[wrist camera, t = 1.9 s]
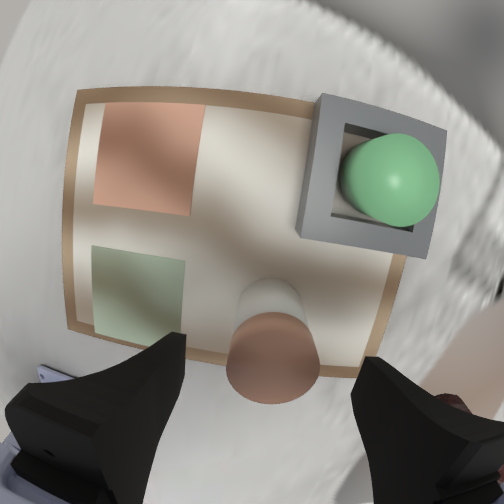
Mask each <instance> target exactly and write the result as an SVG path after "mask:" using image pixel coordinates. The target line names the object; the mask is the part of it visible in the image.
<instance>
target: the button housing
mask: <svg viewBox="0 0 504 504" xmlns="http://www.w3.org/2000/svg"><path fill="white" fill-rule="evenodd" d="M344 132H346V133H350V134H354V135H358V136H362V137H366V138H370V139H375V138H378V137H381V136H385V135H388V134H395V133H400V134H406V135H409V136H412V137H414V138H416V139H417V140H419V141H420V142H421V143H423V144H424V145H425V146H426V147H427V149H428V150H429V151H430V152H431V154H432V156H433V157H434V160H435V162H436V164H437V167H438V172H439V179H440V185H439V193H438V197H437V200H436V202H435V205H434V207H433V208H432V210H431V211H430V212H429V214H428V215H427V216H426V217H425V218H424V219H422V220H421V221H420V222H418V223H416V224H413V225H410V226H405V227H397V226H392V225H389V224H386V223H382V222H377V221H372V220H367V219H362V218H357V217H352V216H347V215H341V214H336V213H331V211H332V205H333V200H334V194H335V188H336V182H337V175H338V169H339V162H340V155H341V148H342V141H343V134H344ZM446 138H447V131H446V130H444V129H441V128H439V127H436V126H433V125H431V124H428V123H425V122H423V121H420V120H417V119H414V118H411V117H408V116H405V115H402V114H399V113H396V112H393V111H390V110H386V109H383V108H380V107H376V106H373V105H369V104H366V103H362V102H358V101H354V100H350V99H346V98H342V97H338V96H334V95H329V94H325V93H322V94H321V96H320V97H319V98H318V100H317V101H316V102H315V104H314V108H313V115H312V124H311V132H310V139H309V145H308V152H307V159H306V165H305V172H304V178H303V185H302V191H301V197H300V203H299V209H298V215H297V221H296V227H295V230H296V232H297V233H298V235H299V237H300V238H303V239H310V240H316V241H322V242H328V243H334V244H340V245H346V246H352V247H358V248H364V249H370V250H376V251H382V252H388V253H393V254H399V255H405V256H411V257H416V258H422V259H426V257H427V253H428V249H429V245H430V241H431V236H432V232H433V227H434V222H435V217H436V212H437V206H438V200H439V194H440V188H441V181H442V174H443V167H444V158H445V149H446Z"/></svg>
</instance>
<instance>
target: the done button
mask: <svg viewBox="0 0 504 504" xmlns="http://www.w3.org/2000/svg"><path fill="white" fill-rule="evenodd" d="M340 184H341V188H342V191H343V194H344V196H345V198H346V200H347V201H348V202H349V204H350V205H351V206H352V207H353V208H354V209H356V210H357V211H358V212H360V213H362V214H364V215H367V216H369V217H372V218H374V219H376V220H379V221H381V222H384V223H386V224H389V225H392V226H397V227H405V226H410V225H413V224H416V223H418V222H420V221H421V220H422V219H424V218H425V217H426V216H427V215H428V214H429V212H430V211H431V210H432V208H433V207H434V205H435V202H436V200H437V197H438V193H439V185H440V179H439V172H438V167H437V164H436V162H435V160H434V157H433V156H432V154H431V152H430V151H429V150H428V149H427V147H426V146H425V145H424V144H423V143H421V142H420V141H419V140H417V139H416V138H414V137H412V136H409V135H406V134H400V133H395V134H388V135H385V136H381V137H378V138H375V139H371V140H368V141H365V142H362V143H360V144H358V145H356V146H355V147H353V148H352V149H351V150H350V151H349V152H348V153H347V155H346V156H345V158H344V160H343V163H342V165H341V170H340Z"/></svg>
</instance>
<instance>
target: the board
mask: <svg viewBox="0 0 504 504" xmlns="http://www.w3.org/2000/svg"><path fill="white" fill-rule="evenodd" d="M314 104H315V103H313V102H307V101H302V100H297V99H291V98H285V97H279V96H272V95H265V94H258V93H250V92H241V91H232V90H221V89H208V88H192V87H160V86H141V87H110V88H95V89H83V90H77V94H76V99H75V104H74V109H73V115H72V121H71V127H70V133H69V140H68V148H67V156H66V166H65V176H64V190H63V209H62V263H63V283H64V296H65V307H66V316H67V325H68V329H70V330H73V331H76V332H79V333H83V334H86V335H89V336H93V337H96V338H100V339H103V340H107V341H111V342H115V343H118V344H122V345H126V346H130V347H134V348H138V349H143V350H145V349H146V348H148V347H149V346H151V345H153V344H154V343H155V342H157V341H158V340H160V339H161V338H163V337H164V336H166V335H167V334H169V333H170V332H177V333H182V334H187V337H186V356H185V359H190V360H195V361H201V362H206V363H212V364H218V365H225V366H226V364H227V359H228V353H229V347H230V342H231V338H232V336H233V330H234V325H235V319H236V313H237V307H238V301H239V298H240V296H241V294H242V292H243V291H244V289H245V288H246V287H247V286H249V285H250V284H251V283H253V282H255V281H257V280H260V279H264V278H277V279H281V280H284V281H286V282H287V283H289V284H290V285H292V286H293V287H294V288H295V289H296V291H297V292H298V294H299V296H300V299H301V302H302V306H303V309H304V313H305V316H306V319H307V323H308V326H309V329H310V331H311V333H312V336H313V339H314V342H315V346H316V349H317V353H318V356H319V360H320V372H319V375H318V376H323V377H340V378H357V377H358V374H359V372H360V369H361V366H362V364H363V361H364V358H365V356H372V357H376V354H377V351H378V349H379V346H380V343H381V340H382V337H383V335H384V332H385V329H386V326H387V323H388V320H389V316H390V313H391V310H392V307H393V304H394V300H395V297H396V294H397V290H398V287H399V283H400V279H401V276H402V272H403V268H404V264H405V260H406V256H405V255H399V254H393V253H388V252H382V251H376V250H370V249H364V248H358V247H352V246H346V245H340V244H334V243H328V242H322V241H316V240H310V239H303V238H300V237H299V235H298V233H297V232H296V230H295V227H296V221H297V215H298V209H299V203H300V197H301V191H302V185H303V178H304V172H305V165H306V159H307V152H308V145H309V139H310V132H311V124H312V115H313V108H314ZM368 140H371V139H370V138H366V137H362V136H358V135H354V134H350V133H346V132H344V134H343V141H342V148H341V155H340V162H339V169H338V175H337V182H336V188H335V194H334V200H333V205H332V211H331V213H336V214H341V215H347V216H352V217H357V218H362V219H367V220H372V221H377V222H381V221H379V220H376V219H374V218H372V217H369V216H367V215H364V214H362V213H360V212H358V211H357V210H356V209H354V208H353V207H352V206H351V205H350V204H349V202H348V201H347V200H346V198H345V196H344V194H343V191H342V188H341V184H340V170H341V165H342V163H343V160H344V158H345V156H346V155H347V153H348V152H349V151H350V150H351V149H352V148H353V147H355V146H356V145H358V144H360V143H362V142H365V141H368ZM382 223H384V222H382Z"/></svg>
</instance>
